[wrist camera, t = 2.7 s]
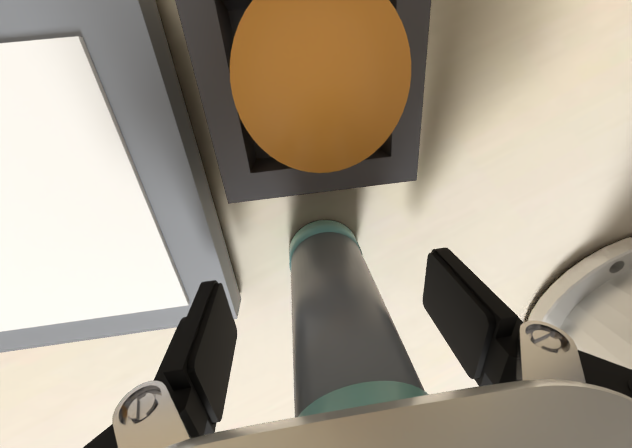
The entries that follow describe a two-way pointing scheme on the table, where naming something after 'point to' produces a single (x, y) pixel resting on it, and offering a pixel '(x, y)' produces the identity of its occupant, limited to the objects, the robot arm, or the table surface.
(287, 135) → the button
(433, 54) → the table surface
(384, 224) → the table surface
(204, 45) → the button housing
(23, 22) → the drawing board
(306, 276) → the marker
